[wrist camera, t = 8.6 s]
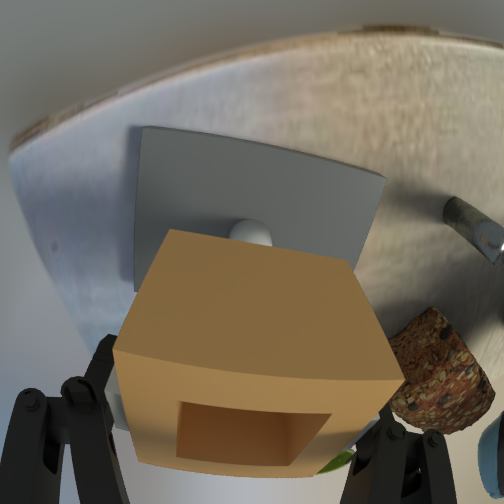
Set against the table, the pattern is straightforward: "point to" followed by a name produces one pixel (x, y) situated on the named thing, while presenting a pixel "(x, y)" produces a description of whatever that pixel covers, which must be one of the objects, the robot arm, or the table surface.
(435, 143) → the table surface
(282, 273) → the collar
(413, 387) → the bread
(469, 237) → the shiny metal cylinder
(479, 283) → the table surface
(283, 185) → the board
